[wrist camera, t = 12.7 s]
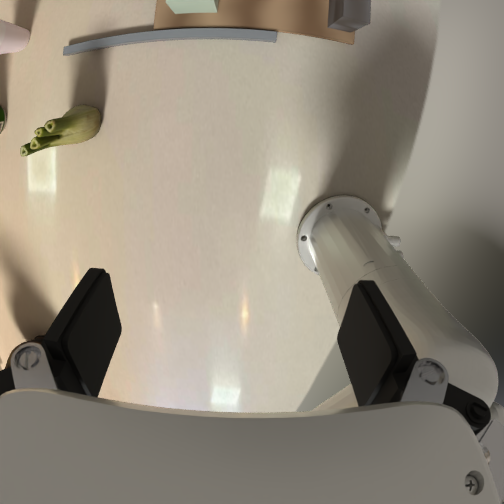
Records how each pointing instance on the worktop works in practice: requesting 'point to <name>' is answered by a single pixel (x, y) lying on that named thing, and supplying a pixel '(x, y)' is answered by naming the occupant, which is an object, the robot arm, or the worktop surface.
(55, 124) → the fennel bulb
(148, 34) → the lane rails
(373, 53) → the worktop surface
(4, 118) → the beer can
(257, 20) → the strip
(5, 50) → the smoothie
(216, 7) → the block
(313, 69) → the worktop surface
